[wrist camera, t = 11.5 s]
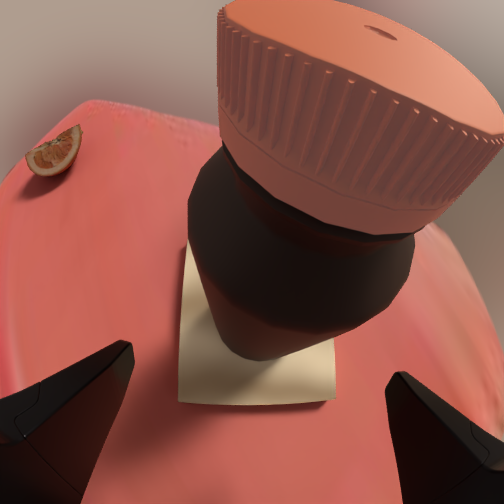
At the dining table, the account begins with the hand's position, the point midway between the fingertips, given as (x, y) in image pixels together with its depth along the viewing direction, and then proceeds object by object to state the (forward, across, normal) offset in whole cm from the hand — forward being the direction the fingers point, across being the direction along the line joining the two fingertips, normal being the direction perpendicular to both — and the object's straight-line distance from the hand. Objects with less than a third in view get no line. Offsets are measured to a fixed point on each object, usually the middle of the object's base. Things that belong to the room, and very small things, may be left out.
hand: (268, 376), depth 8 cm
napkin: (+13, 0, +6) cm, 14 cm away
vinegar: (+12, 0, +6) cm, 13 cm away
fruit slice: (+24, +27, -4) cm, 36 cm away
